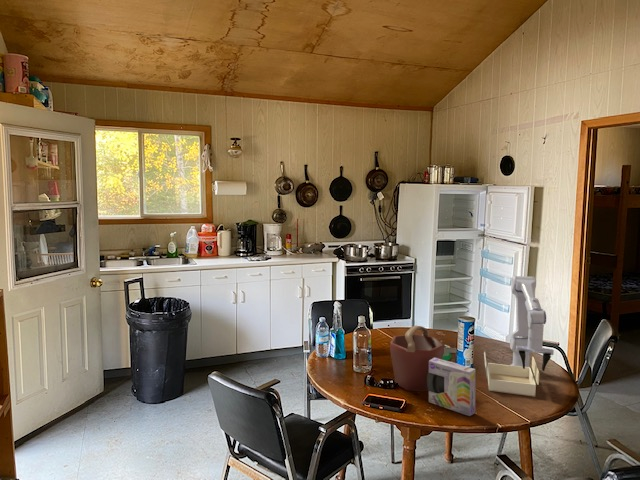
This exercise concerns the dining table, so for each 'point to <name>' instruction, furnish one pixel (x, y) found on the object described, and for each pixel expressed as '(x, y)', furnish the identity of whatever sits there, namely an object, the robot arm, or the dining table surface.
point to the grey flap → (485, 365)
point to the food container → (449, 353)
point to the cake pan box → (451, 386)
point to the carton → (511, 379)
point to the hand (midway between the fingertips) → (533, 369)
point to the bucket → (414, 358)
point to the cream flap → (535, 370)
